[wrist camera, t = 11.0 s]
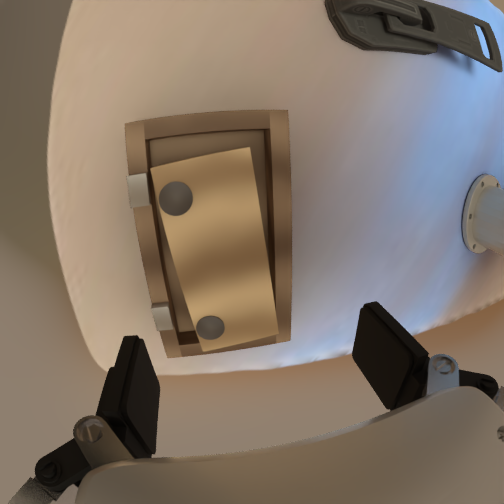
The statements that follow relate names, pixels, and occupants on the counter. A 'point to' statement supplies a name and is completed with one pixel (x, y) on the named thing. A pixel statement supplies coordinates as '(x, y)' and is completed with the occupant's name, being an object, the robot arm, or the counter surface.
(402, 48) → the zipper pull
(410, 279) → the counter surface
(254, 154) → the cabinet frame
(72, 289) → the counter surface
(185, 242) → the tan rectangular block
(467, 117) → the counter surface
